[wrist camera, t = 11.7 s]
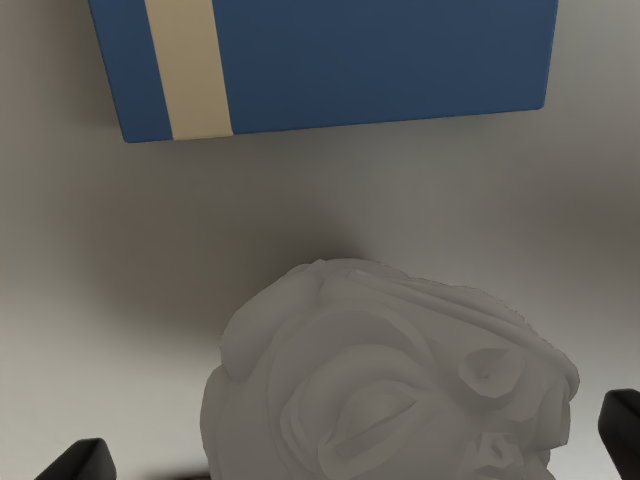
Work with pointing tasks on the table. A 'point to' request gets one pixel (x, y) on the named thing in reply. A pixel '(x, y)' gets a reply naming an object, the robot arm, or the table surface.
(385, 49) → the blue eraser
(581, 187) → the table surface
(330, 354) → the frog figurine
